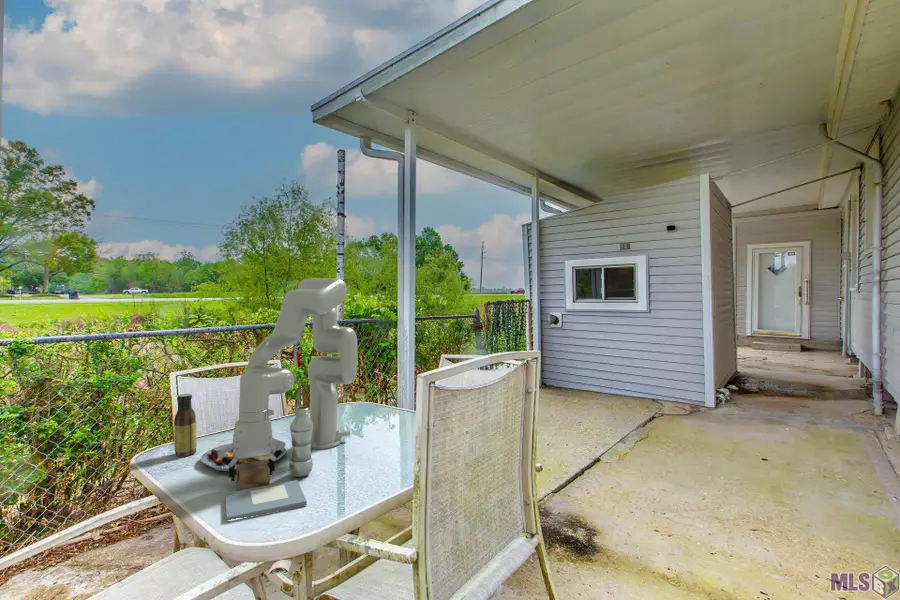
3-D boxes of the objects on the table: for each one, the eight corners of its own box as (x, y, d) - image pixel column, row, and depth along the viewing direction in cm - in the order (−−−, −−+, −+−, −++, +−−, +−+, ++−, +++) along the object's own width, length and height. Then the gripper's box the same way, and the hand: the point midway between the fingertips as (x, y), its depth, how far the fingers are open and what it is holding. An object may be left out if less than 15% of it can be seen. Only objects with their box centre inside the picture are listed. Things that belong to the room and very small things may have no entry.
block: (264, 476, 126) (265, 459, 126) (269, 486, 120) (269, 468, 120) (236, 482, 122) (236, 464, 122) (239, 492, 116) (240, 474, 116)
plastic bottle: (317, 472, 129) (318, 406, 129) (302, 481, 123) (303, 411, 123) (299, 469, 131) (300, 404, 131) (284, 477, 125) (285, 409, 125)
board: (297, 484, 121) (297, 479, 121) (306, 505, 109) (306, 500, 109) (225, 497, 112) (225, 492, 112) (226, 522, 100) (226, 517, 100)
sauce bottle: (190, 449, 146) (191, 391, 146) (200, 453, 143) (201, 393, 143) (169, 455, 141) (170, 394, 141) (179, 459, 137) (180, 397, 137)
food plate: (187, 460, 136) (187, 449, 136) (256, 442, 155) (256, 432, 155) (228, 483, 122) (229, 471, 122) (298, 459, 141) (299, 449, 141)
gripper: (284, 409, 128) (282, 467, 128) (218, 416, 120) (217, 477, 120) (288, 415, 122) (286, 476, 121) (219, 422, 113) (217, 487, 113)
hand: (252, 476), depth 120 cm, fingers open, 9 cm apart
